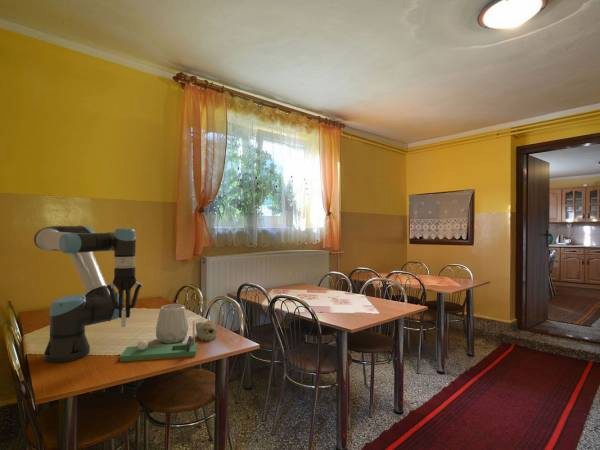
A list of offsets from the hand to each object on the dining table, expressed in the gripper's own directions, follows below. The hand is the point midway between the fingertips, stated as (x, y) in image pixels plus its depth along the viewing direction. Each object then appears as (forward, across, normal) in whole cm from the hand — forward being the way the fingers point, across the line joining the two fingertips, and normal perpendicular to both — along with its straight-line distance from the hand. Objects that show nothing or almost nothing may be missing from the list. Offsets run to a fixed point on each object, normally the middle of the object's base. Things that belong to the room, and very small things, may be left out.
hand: (124, 325), depth 135 cm
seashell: (+13, +31, +18) cm, 38 cm away
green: (+13, +14, 0) cm, 19 cm away
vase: (+13, +16, +17) cm, 27 cm away
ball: (+10, +7, 0) cm, 12 cm away
